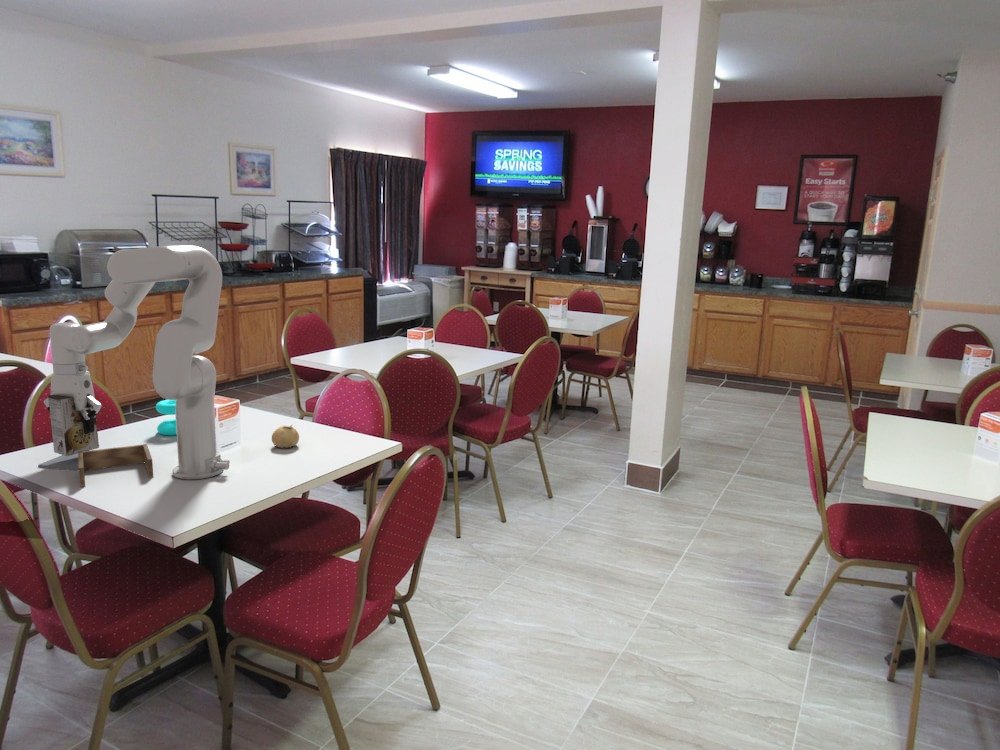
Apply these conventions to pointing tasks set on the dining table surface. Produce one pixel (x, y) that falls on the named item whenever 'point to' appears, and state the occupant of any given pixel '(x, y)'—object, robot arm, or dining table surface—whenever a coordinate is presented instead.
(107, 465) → the walnut cubby
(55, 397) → the coffee box
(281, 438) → the onion
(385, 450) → the dining table surface
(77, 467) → the charcoal mat
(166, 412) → the donuts
